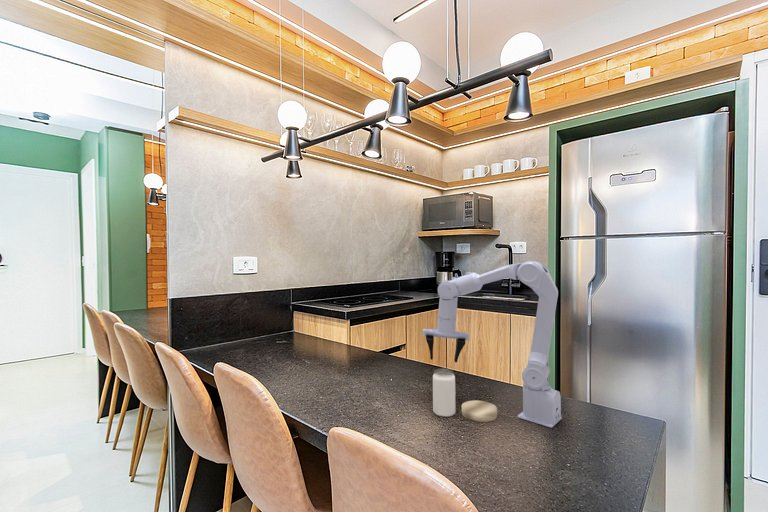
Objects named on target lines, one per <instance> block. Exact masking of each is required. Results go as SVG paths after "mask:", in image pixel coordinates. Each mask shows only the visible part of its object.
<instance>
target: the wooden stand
mask: <svg viewBox="0 0 768 512" xmlns="http://www.w3.org/2000/svg"><path fill="white" fill-rule="evenodd" d="M461 415H462V416H463V417H464V418H465V419H467V420H469V421H473V422H477V423H480V422H481V423H488V422H489V423H490V422H493V421H495V420H496V419H497V418H498V407H497V406H496V405H495V404H493V403H491V402H488V401H484V400H478V399H477V400H476V399H474V400H468V401H467V400H466V401H465V402H463V403H462V404H461Z"/></svg>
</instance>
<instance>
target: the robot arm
mask: <svg viewBox="0 0 768 512" xmlns="http://www.w3.org/2000/svg"><path fill="white" fill-rule="evenodd" d="M504 279H511V280H516V281H517V280H519V281H520V282H521V283H523V284H524V285H526V286H528V287H529V288H530V289H532V291H533V292H534V293H535V294H536V295H537V296H538V302H537V306H536V307H537V309H536V315H535V319H534V320H535V321H534V328H533V333H532V340H531V344H530V345H531V346H530V352H529V356H528V359H527V365H526V367H525V368H524V369H523V371H522V373H521V377H522V381H523V382H522V410H523V411H521V413H519V414H517V418H518V419H522V420H525V421H527V422H531V423H535V424H537V425H542V426H544V427H547V428H551V429H552V428H554V426H556V425H557V424H558V423H559V422H560V421H561V420H562V419H563V417H562V401H561V400H562V398H561V392H560V391H559V390H556V389H554V388H552V386H551V384H550V383H549V381H548V378H549V376H550V373H551V368H550V365H549V358H550V357H549V355H550V354H549V353H550V348H551V347H550V346H551V341H552V335H553V334H552V333H553V330H554V329H553V328H554V322H555V315H556V310H557V302H558V297H559V290H558V287H557V286H556V284H555V282H554V280H553V278H552V276H551V274H550V271H549V269H548V268H546V267H545V266H544V265H543V264H542V263H541V262H539V261H537V260H530V261H529V260H528V261H525V262H521V263H513V264H508V265H504V266H501V267H499V268H496V269H493V270H490V271H486V272H484V273H482V274H478V273H477V272H471V271H468V272H465V275H461V276H458V277H456V276H454V277H452V278H451V280H444V281H442V282H441V283H439V285H438V286H437V295H438V296H439V301H438V302H439V303H438V313H437V326H436V328H423V329H422V337H425V340H426V343H427V346H428V350H429V354H430V359H429V360H433V359H434V340H435V338H444V339H454V340H455V353H454V363H458V360H459V357H460V354H461V352H462V350H463V348H464V347H465V346H466V341H467V342H469V340H470V334H469V332H468V333H467V332H461V331H456V324H457V323H456V322H457V313H458V299H459V297H460V296H466V295H468V294H472V293H475V292H479V291H480V290H481V289H482V287H483V285H486V284H489V283H492V282H493V283H494V282H497V281H501V280H504ZM434 337H435V338H434Z"/></svg>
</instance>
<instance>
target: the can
mask: <svg viewBox="0 0 768 512" xmlns="http://www.w3.org/2000/svg"><path fill="white" fill-rule="evenodd" d="M432 411H433V413H434V415H436V416H438V417H441V418H449V417H453V416H455V414H456V376H455V374H454V371H453V370H452V369H449V368H437V369H435V370H434V371H433V375H432Z"/></svg>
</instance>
